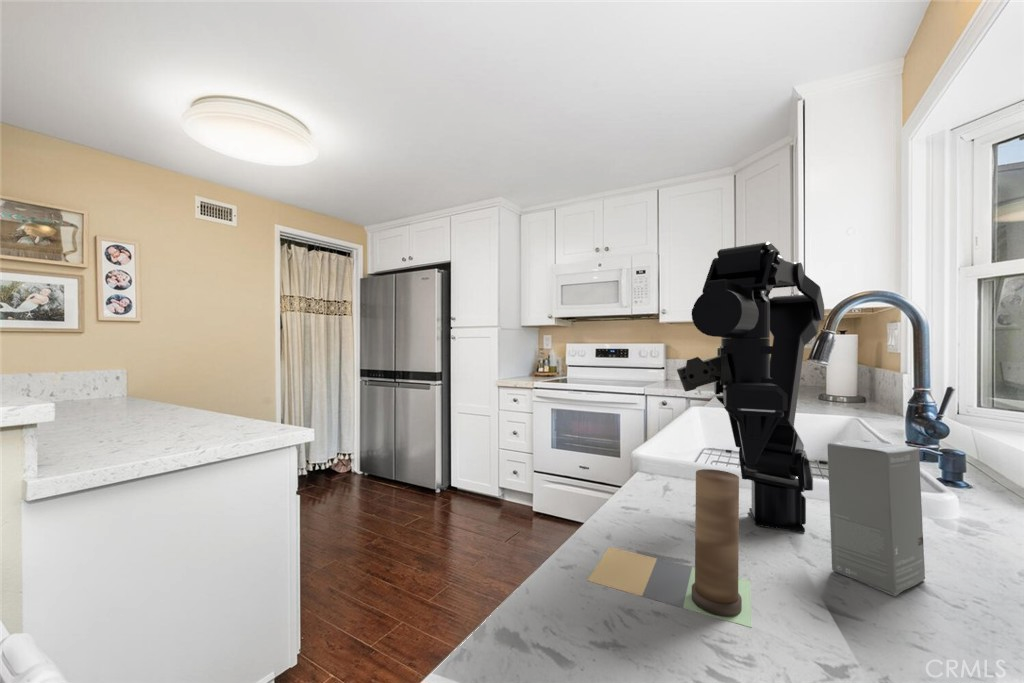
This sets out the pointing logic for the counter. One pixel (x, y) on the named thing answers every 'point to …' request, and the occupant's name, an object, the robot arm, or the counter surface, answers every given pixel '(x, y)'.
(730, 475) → the walnut peg
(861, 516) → the skincare box
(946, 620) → the counter surface
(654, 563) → the striped board
